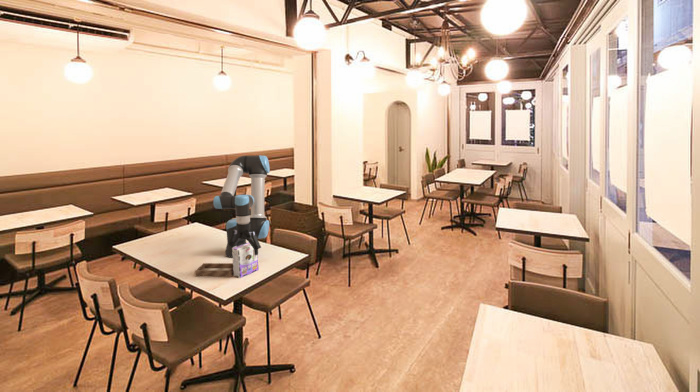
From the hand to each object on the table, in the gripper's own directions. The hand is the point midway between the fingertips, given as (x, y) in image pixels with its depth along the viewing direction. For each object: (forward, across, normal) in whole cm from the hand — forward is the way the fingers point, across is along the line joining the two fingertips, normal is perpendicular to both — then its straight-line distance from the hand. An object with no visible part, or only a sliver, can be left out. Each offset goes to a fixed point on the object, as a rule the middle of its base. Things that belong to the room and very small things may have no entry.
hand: (245, 259), depth 224 cm
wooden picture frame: (+8, -16, -5) cm, 19 cm away
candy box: (+9, 0, 0) cm, 9 cm away
